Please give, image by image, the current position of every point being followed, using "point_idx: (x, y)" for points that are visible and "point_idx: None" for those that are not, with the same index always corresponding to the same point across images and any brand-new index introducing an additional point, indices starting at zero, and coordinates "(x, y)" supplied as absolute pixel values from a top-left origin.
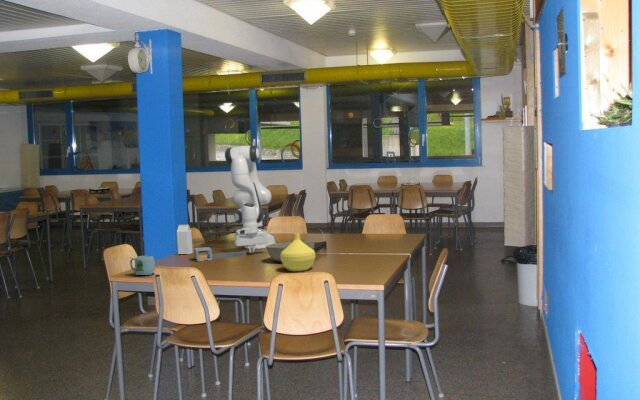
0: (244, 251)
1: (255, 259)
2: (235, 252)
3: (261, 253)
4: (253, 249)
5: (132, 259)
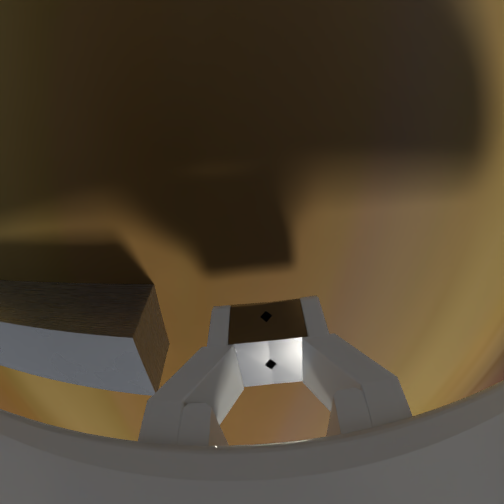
0: (118, 353)
1: None
2: (12, 352)
3: (444, 207)
4: (306, 378)
5: None
